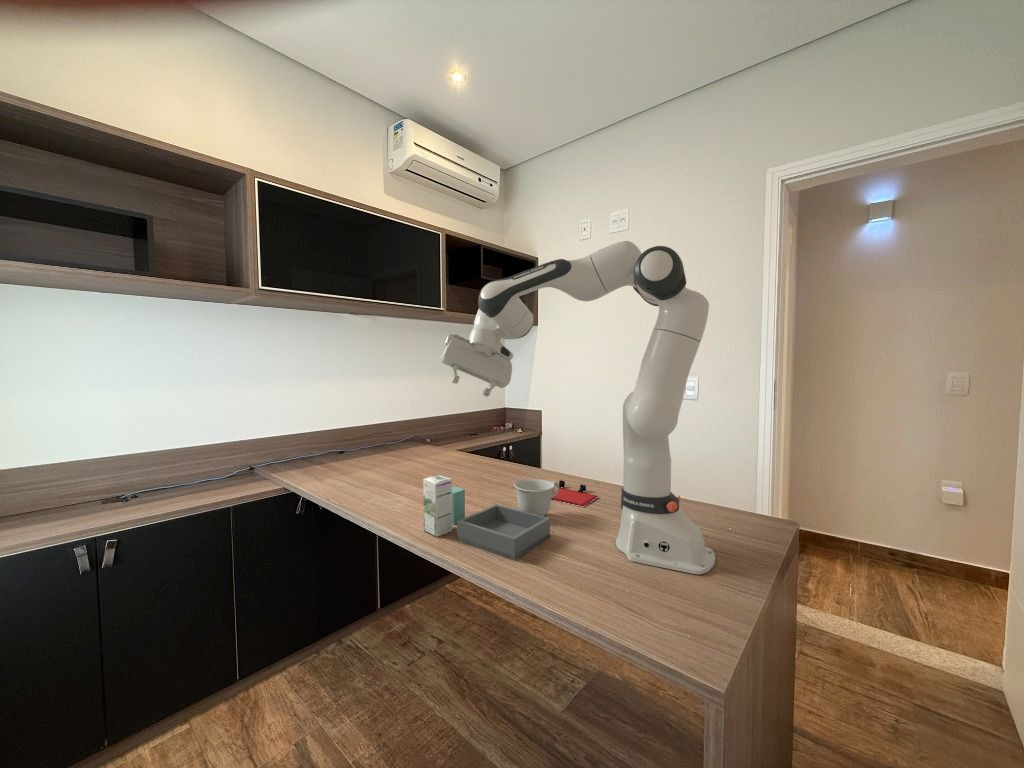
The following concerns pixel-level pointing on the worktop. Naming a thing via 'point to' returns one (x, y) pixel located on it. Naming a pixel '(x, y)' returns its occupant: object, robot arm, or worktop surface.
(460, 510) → the teal block
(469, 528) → the tote
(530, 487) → the teacup
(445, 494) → the syrup box
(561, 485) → the red flat slab
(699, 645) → the worktop surface
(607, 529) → the worktop surface
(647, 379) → the robot arm
